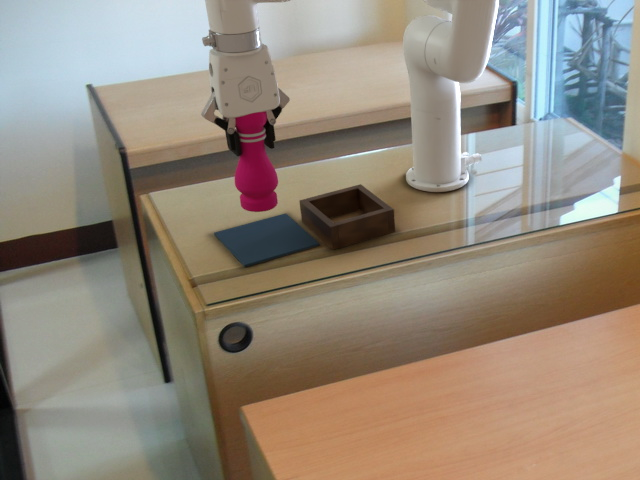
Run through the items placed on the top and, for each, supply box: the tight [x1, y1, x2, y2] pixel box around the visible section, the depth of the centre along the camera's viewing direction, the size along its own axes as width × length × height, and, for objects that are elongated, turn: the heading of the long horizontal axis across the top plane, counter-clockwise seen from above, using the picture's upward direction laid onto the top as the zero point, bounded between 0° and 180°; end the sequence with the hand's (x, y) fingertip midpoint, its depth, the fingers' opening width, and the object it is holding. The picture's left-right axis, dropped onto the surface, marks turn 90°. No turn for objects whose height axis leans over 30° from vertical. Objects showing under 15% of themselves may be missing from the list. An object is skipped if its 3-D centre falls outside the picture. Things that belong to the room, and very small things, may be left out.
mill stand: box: [298, 183, 396, 251], centre depth 171 cm, size 13×13×4 cm
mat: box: [213, 212, 320, 268], centre depth 167 cm, size 14×14×1 cm
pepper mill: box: [234, 111, 279, 213], centre depth 157 cm, size 7×7×20 cm
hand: (252, 148), depth 157 cm, fingers closed on pepper mill, 5 cm apart
